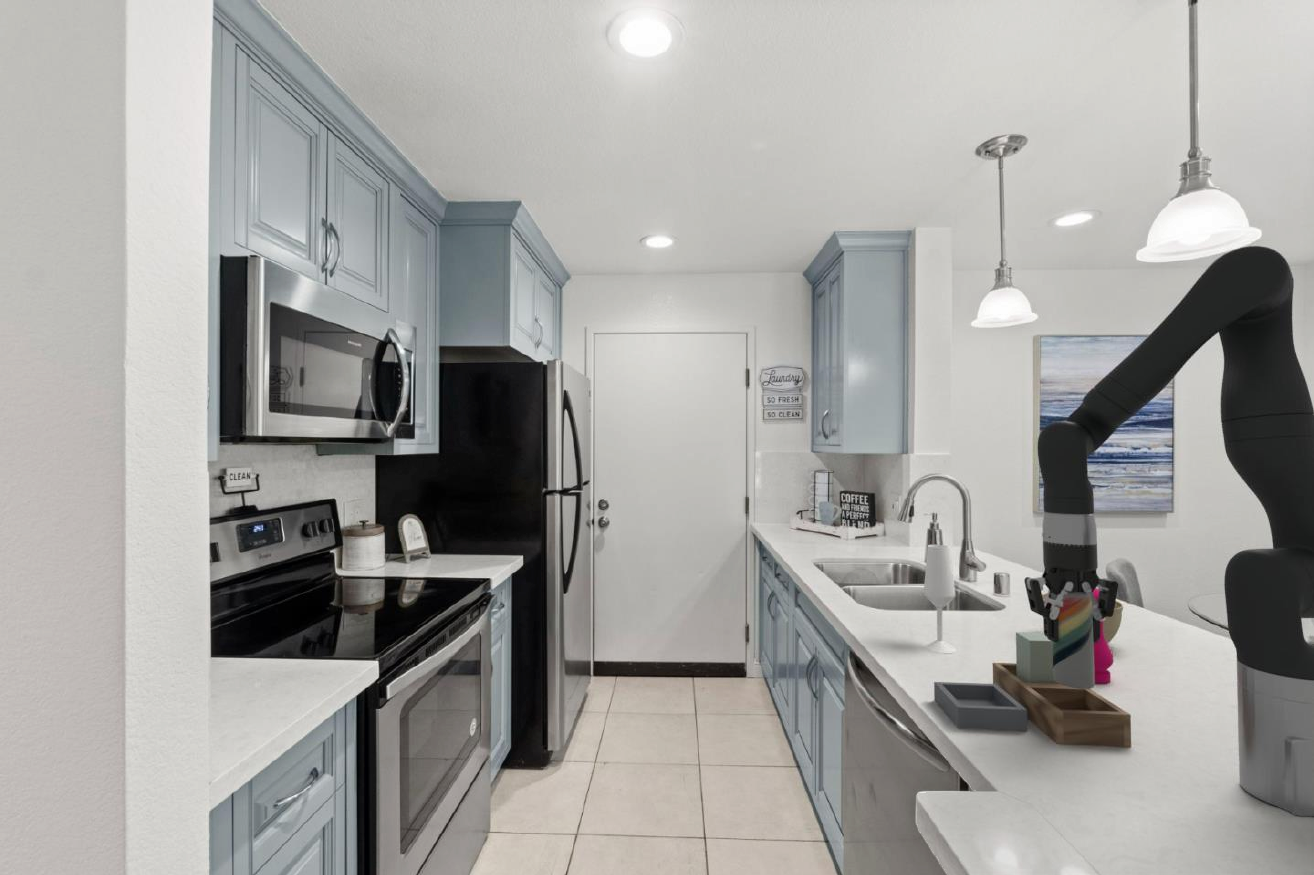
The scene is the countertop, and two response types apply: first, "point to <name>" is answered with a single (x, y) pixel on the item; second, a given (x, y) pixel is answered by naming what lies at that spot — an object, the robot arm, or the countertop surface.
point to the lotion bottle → (1074, 637)
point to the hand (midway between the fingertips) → (1072, 640)
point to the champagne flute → (939, 589)
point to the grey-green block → (1034, 658)
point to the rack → (1067, 710)
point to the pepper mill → (1102, 654)
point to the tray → (980, 706)
